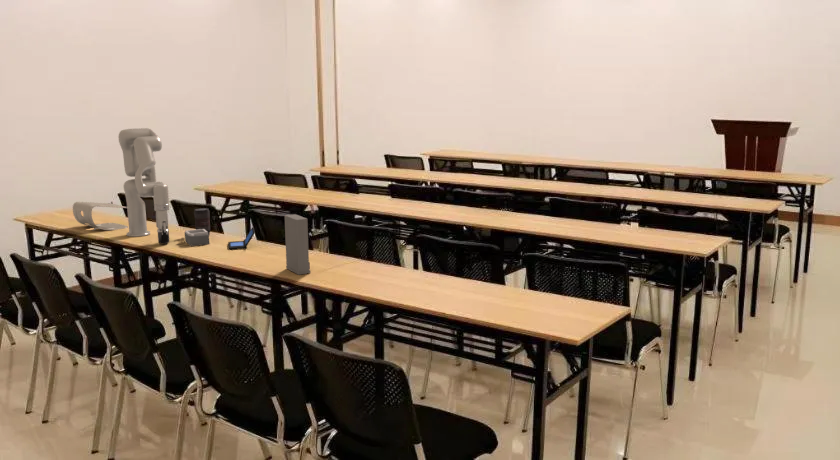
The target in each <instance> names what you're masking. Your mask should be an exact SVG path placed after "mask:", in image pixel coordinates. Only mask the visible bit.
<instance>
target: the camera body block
mask: <svg viewBox="0 0 840 460" xmlns="http://www.w3.org/2000/svg"><path fill="white" fill-rule="evenodd" d="M184 242H185V243H186V244H188V245H189V246H190V247H194V246H204V245H210V235H208V232H207V231H206V230H205V229H197V230H196V229H188V230H185V231H184Z"/></svg>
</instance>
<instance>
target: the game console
mask: <svg viewBox="0 0 840 460" xmlns="http://www.w3.org/2000/svg"><path fill="white" fill-rule="evenodd" d="M255 233H256V231H255V227H254V226H252V227H251V229H250V231H249V232H248V234H247V235H246V237H245V239H243V240H239V241H234V240H233V241H228V243H227V244H228V245H227V246H228V247H227V248H228V250H230V251H232V250H233V251H235V250H236V251H237V250H247V249H248V247H247V246H248V245H249V244H250V241H251V240H252V239H253V237H254V235H255Z"/></svg>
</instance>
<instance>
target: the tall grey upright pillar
mask: <svg viewBox="0 0 840 460" xmlns="http://www.w3.org/2000/svg"><path fill="white" fill-rule="evenodd" d="M308 227H309V223H308V218H307V217H303V216H301V215H298V214H296V213H295V214H287V215H286V214H285V215H284V230H285V231H284V232H285V233H284V234H285V235H284V236H285V239H284V240H285V259H286V265H285V268H286V269H287V270H289V271H291V272H292V273H295V274H296V275H298V276H301V275H304V274H307V273H309V274H311V271H312V270H311V266H310V264H311V263H310V257H309V232H308V231H309V228H308ZM307 275H308V274H307Z"/></svg>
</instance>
